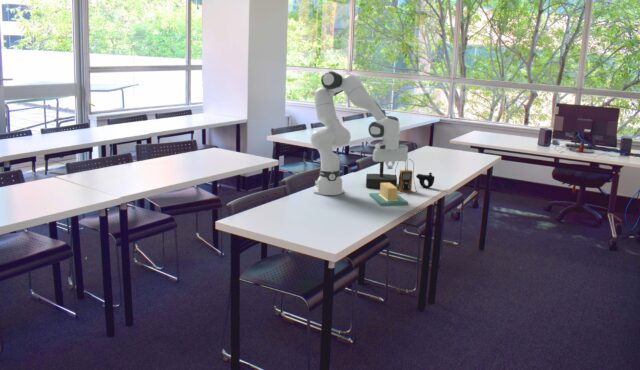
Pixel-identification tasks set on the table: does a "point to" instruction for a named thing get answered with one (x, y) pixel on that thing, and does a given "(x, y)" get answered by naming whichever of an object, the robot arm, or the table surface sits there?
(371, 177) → the black block with post
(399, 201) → the board
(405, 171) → the multimeter
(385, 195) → the block
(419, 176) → the controller
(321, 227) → the table surface
